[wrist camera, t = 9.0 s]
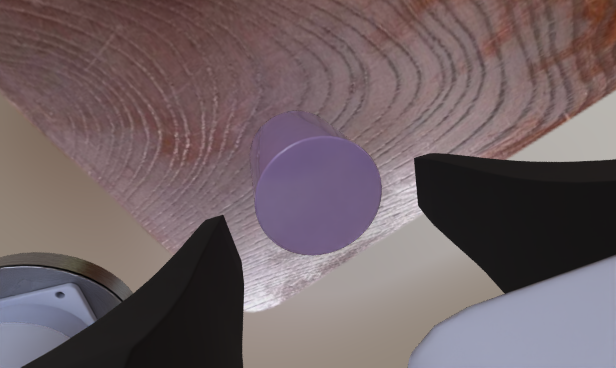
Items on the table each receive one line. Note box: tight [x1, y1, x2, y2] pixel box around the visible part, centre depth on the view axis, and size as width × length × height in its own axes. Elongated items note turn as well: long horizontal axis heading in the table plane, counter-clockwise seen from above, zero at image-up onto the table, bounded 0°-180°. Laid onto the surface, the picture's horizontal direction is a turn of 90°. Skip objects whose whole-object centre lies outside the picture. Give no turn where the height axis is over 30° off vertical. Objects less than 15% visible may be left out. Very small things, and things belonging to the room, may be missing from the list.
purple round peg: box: [250, 111, 382, 255], centre depth 15 cm, size 5×5×6 cm
